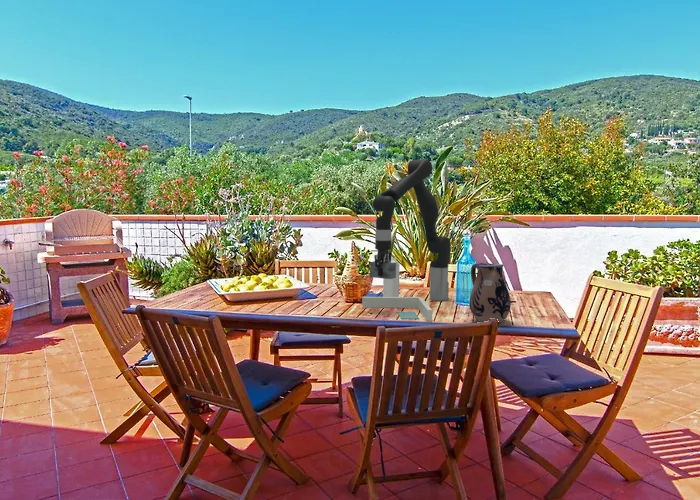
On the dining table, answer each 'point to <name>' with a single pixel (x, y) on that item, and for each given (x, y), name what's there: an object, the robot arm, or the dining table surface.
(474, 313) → the ceramic pitcher
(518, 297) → the dining table surface
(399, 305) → the arena
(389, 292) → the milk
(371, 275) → the bar
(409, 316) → the pad
